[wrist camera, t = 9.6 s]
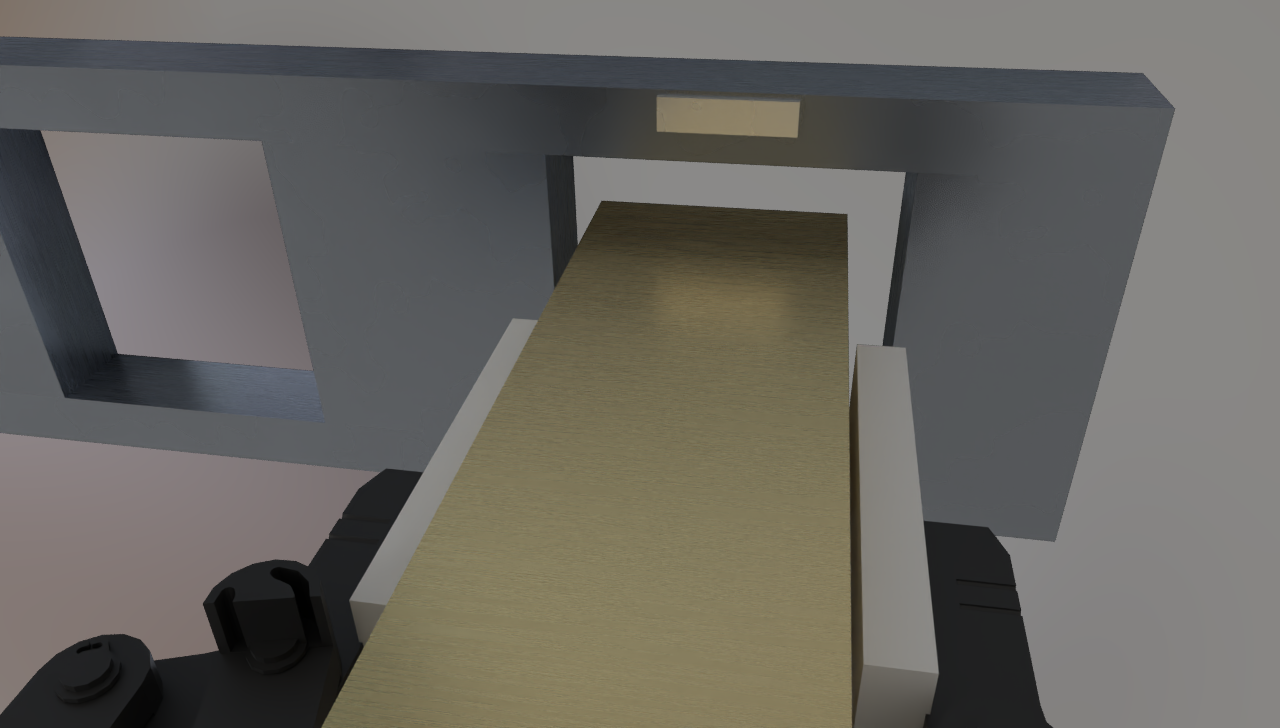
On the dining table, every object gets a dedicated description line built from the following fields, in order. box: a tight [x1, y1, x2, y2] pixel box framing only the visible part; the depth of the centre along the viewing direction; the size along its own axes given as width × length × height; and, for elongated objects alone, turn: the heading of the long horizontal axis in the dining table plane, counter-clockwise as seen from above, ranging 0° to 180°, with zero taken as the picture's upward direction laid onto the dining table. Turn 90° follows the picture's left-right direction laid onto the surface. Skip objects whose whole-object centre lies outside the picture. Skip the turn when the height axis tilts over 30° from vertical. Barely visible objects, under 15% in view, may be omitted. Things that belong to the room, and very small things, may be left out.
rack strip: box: [0, 37, 1175, 542], centre depth 21 cm, size 26×9×2 cm, turn 91°
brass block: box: [321, 201, 852, 728], centre depth 14 cm, size 4×4×12 cm
